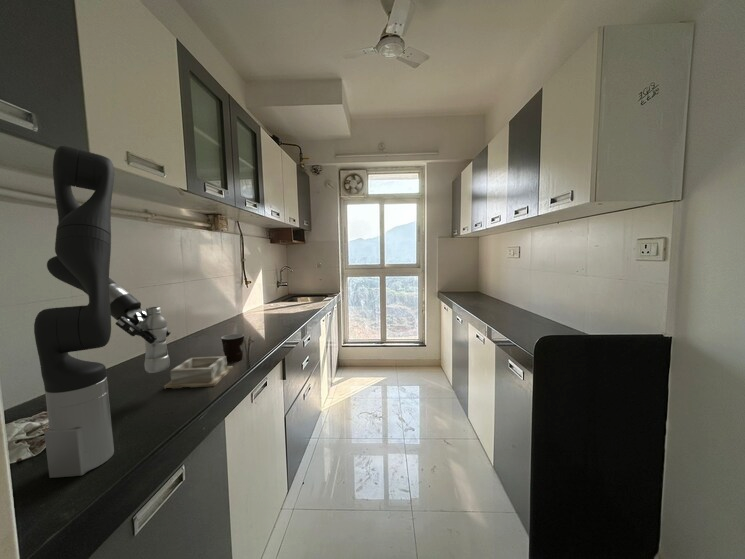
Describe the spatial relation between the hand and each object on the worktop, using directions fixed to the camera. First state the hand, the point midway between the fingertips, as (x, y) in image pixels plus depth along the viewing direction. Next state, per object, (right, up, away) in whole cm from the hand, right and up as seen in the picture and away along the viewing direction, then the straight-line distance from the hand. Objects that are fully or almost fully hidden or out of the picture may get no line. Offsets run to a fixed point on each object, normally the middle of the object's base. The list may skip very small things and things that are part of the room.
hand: (161, 338), depth 93 cm
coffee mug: (+7, -16, +32) cm, 36 cm away
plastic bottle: (-1, -11, +1) cm, 11 cm away
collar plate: (+4, -17, +15) cm, 23 cm away
